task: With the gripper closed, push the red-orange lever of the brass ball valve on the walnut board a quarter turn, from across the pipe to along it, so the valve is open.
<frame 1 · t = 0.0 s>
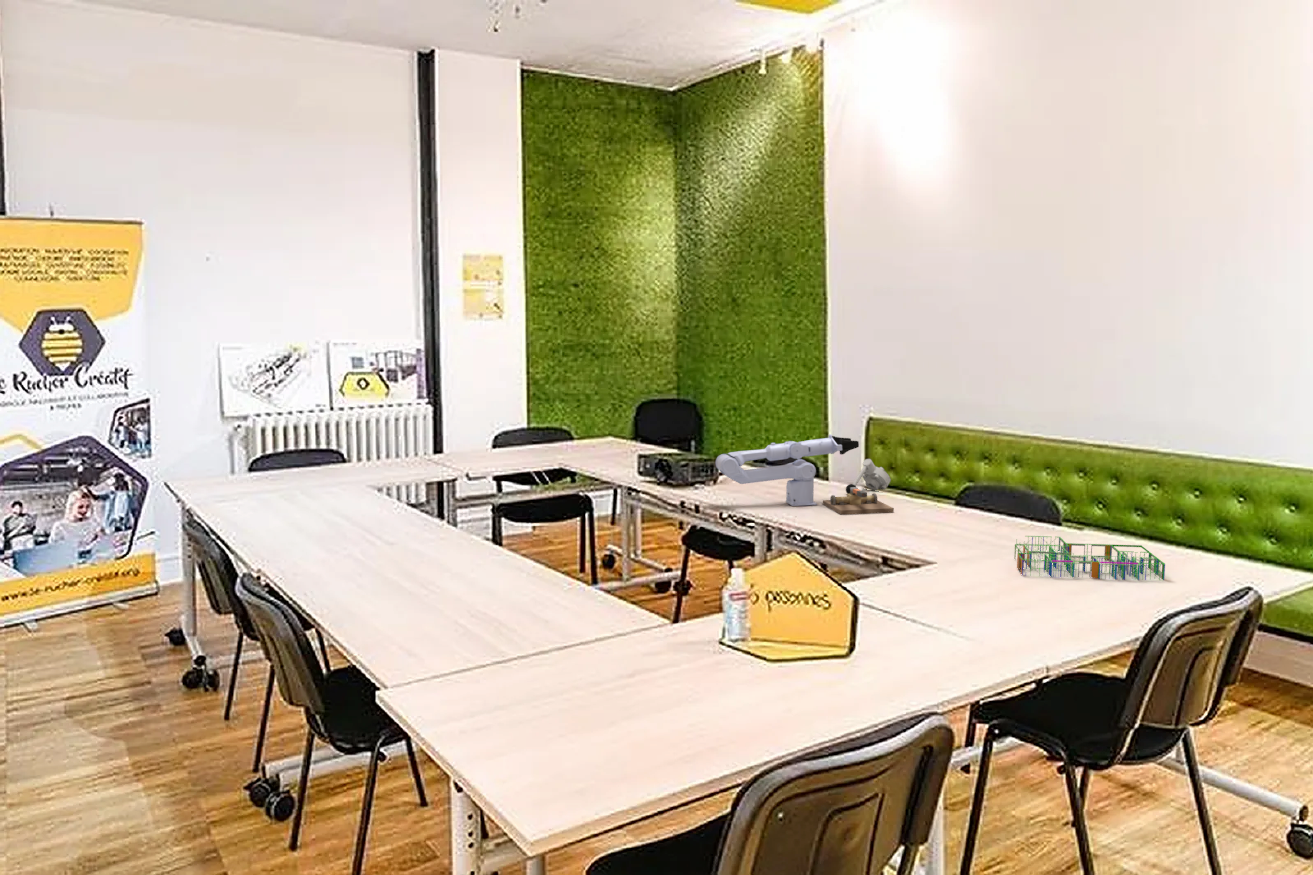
hand: (854, 442, 367), 22 cm above the table, fingers open, 7 cm apart
house model: (1079, 566, 277), on the table
valve board: (857, 508, 357), on the table
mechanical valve: (866, 492, 389), on the table
valve lever: (858, 492, 353), point 6 cm above the table, hinge at -90.0°
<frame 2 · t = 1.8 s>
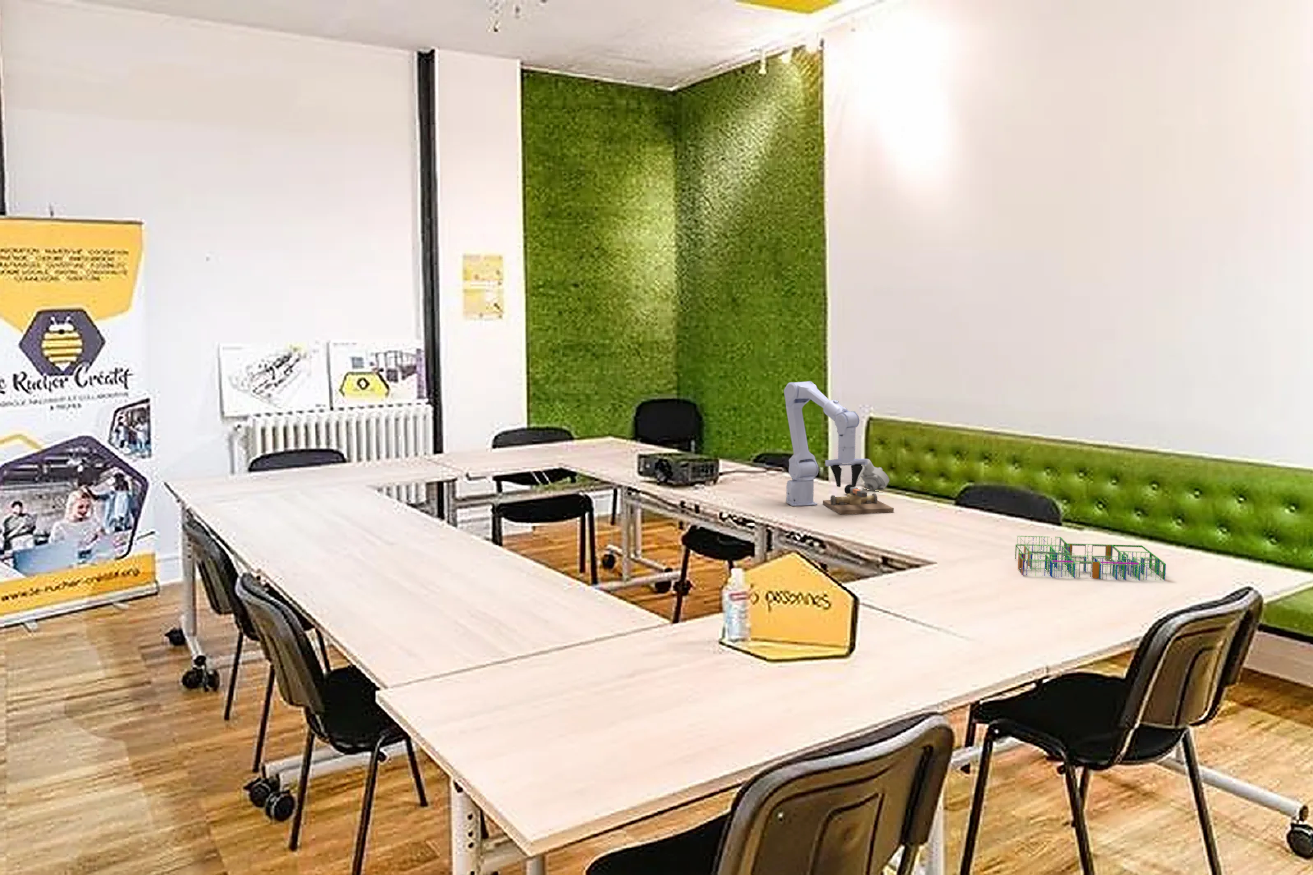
hand: (846, 486, 348), 9 cm above the table, fingers open, 5 cm apart
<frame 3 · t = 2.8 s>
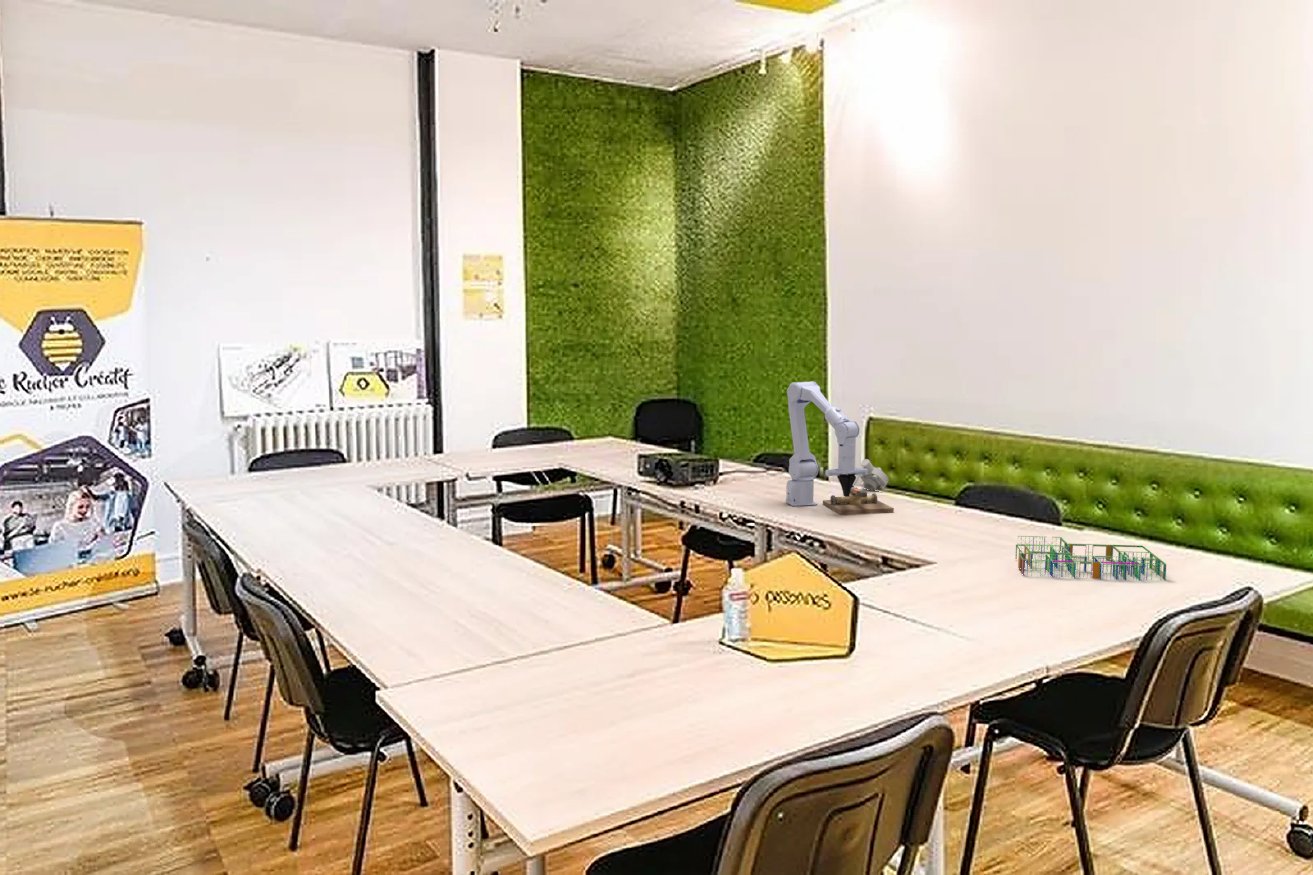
hand: (846, 496, 348), 6 cm above the table, fingers closed
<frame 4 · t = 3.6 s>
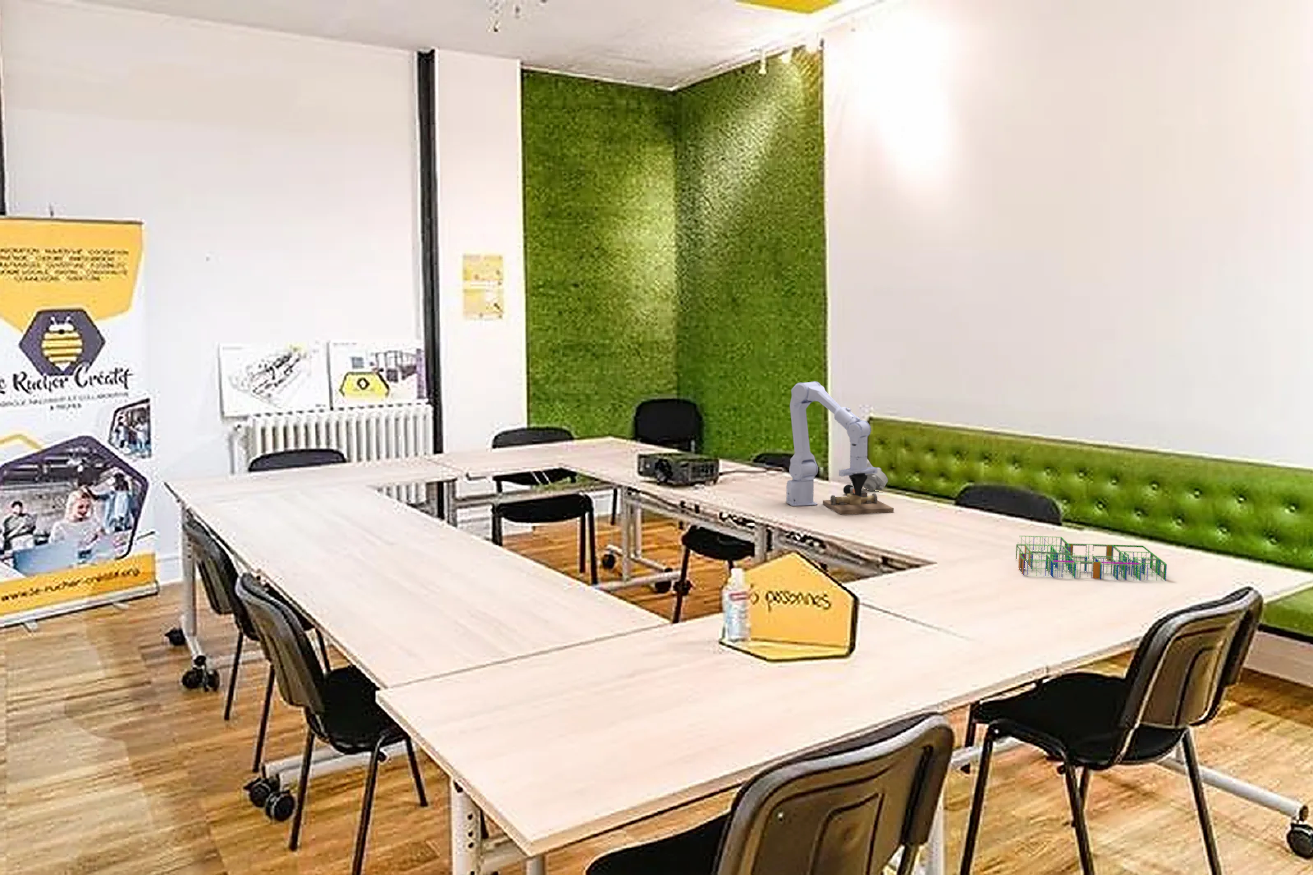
hand: (857, 495, 349), 6 cm above the table, fingers closed, pressing on valve lever
valve lever: (858, 492, 353), point 6 cm above the table, hinge at -89.3°, touching gripper
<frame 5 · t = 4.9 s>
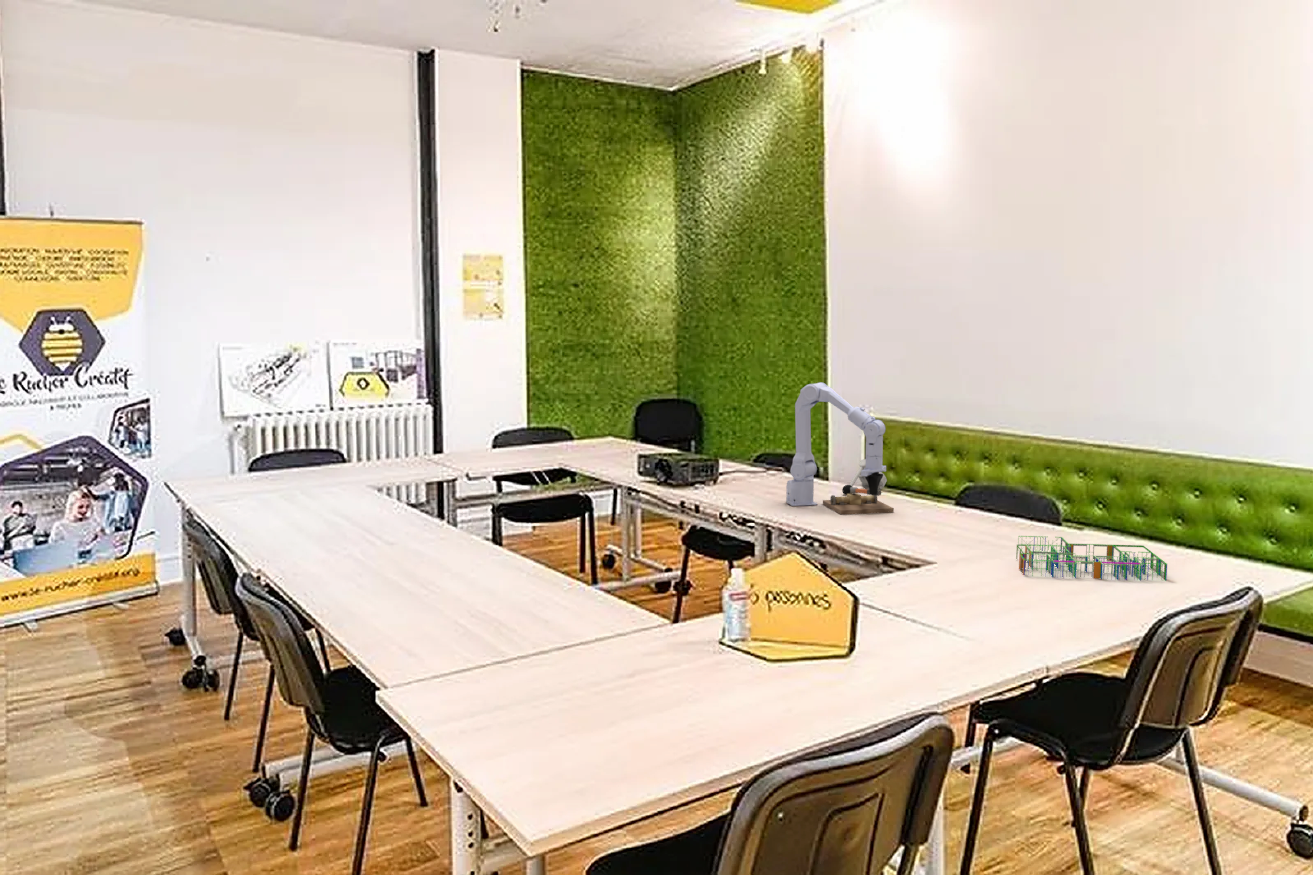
hand: (873, 494, 351), 6 cm above the table, fingers closed, pressing on valve lever
valve lever: (865, 491, 355), point 6 cm above the table, hinge at -49.4°, touching gripper
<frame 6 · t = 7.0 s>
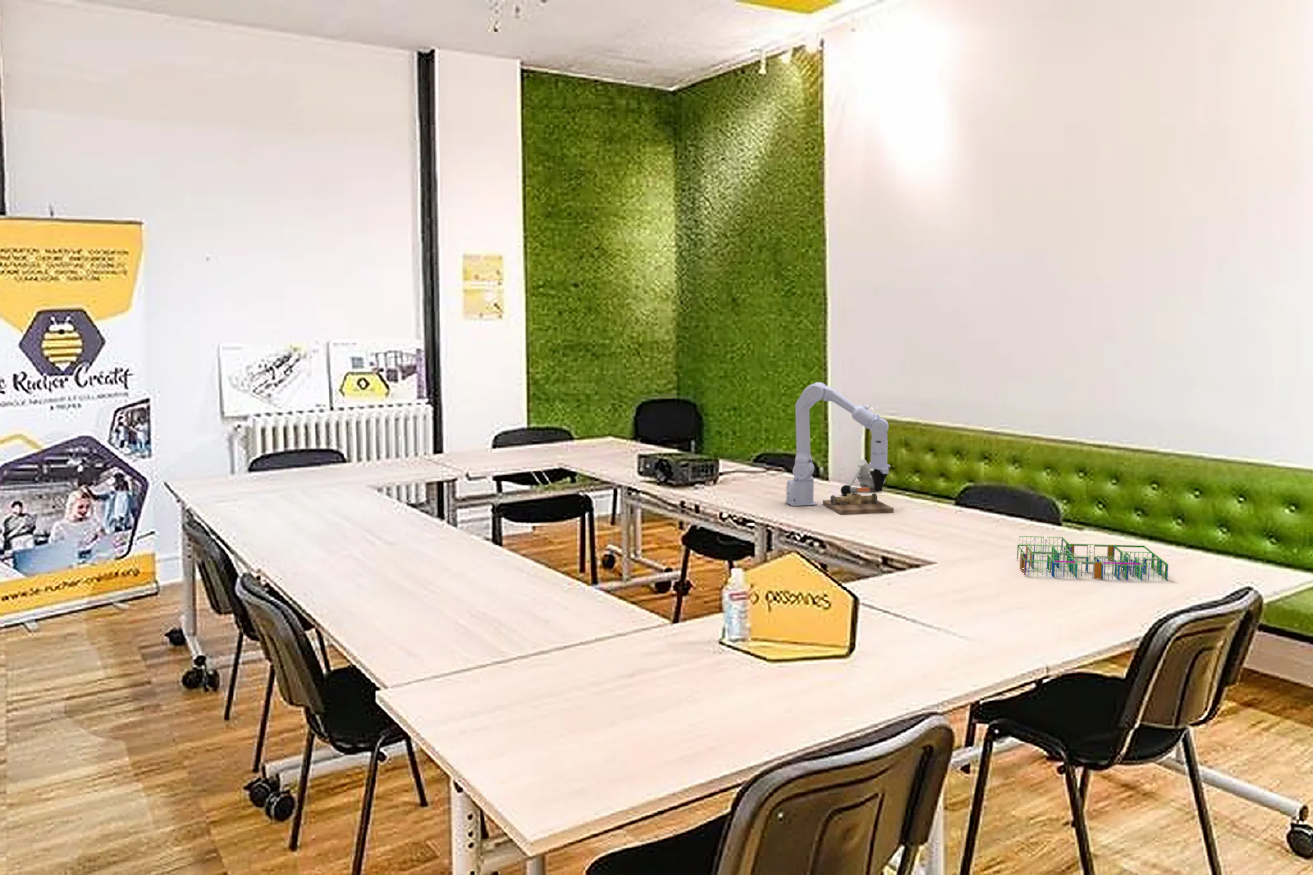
hand: (878, 491, 357), 6 cm above the table, fingers closed
valve lever: (865, 489, 358), point 6 cm above the table, hinge at 0.2°, touching gripper
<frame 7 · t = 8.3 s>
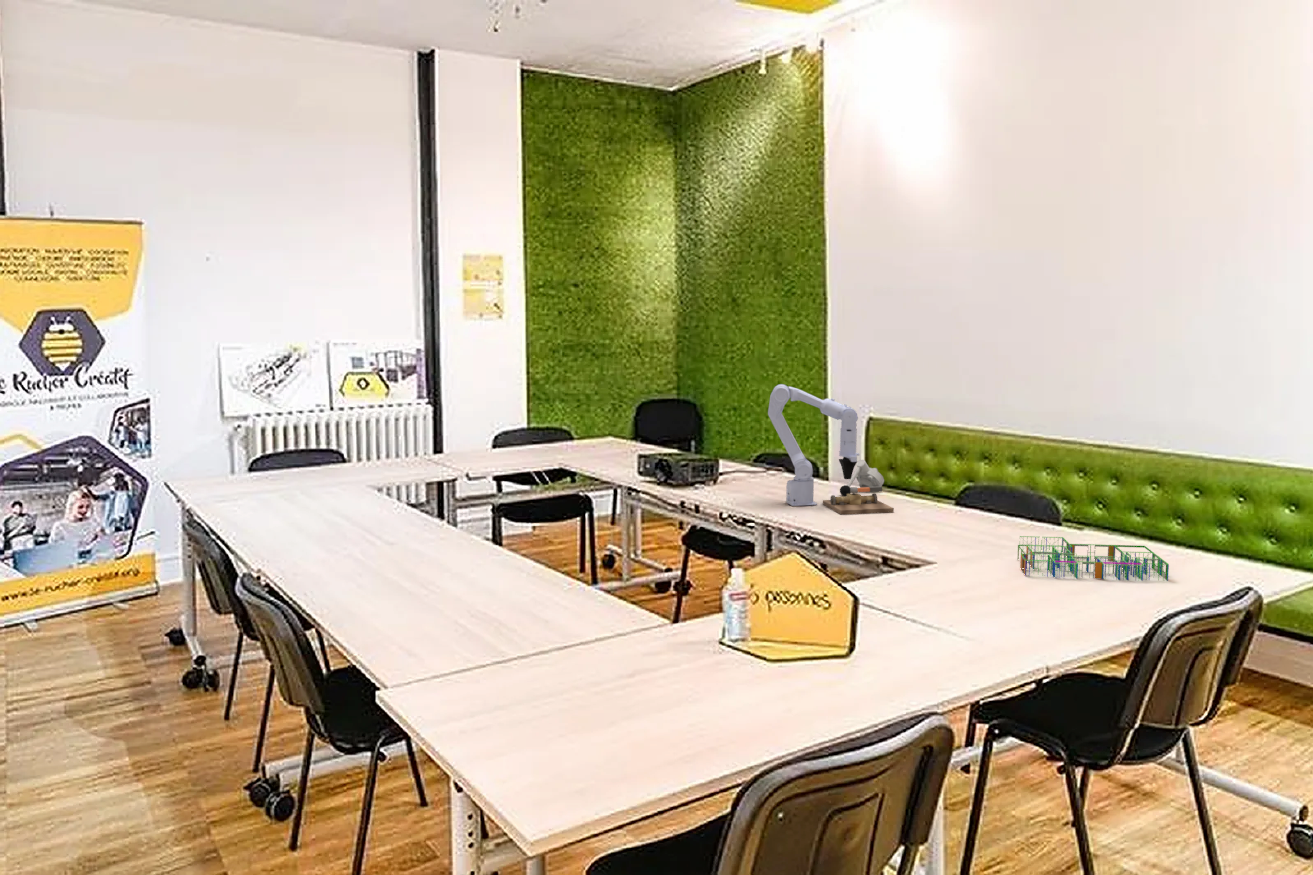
hand: (847, 478, 363), 9 cm above the table, fingers closed
valve lever: (865, 489, 358), point 6 cm above the table, hinge at 0.2°
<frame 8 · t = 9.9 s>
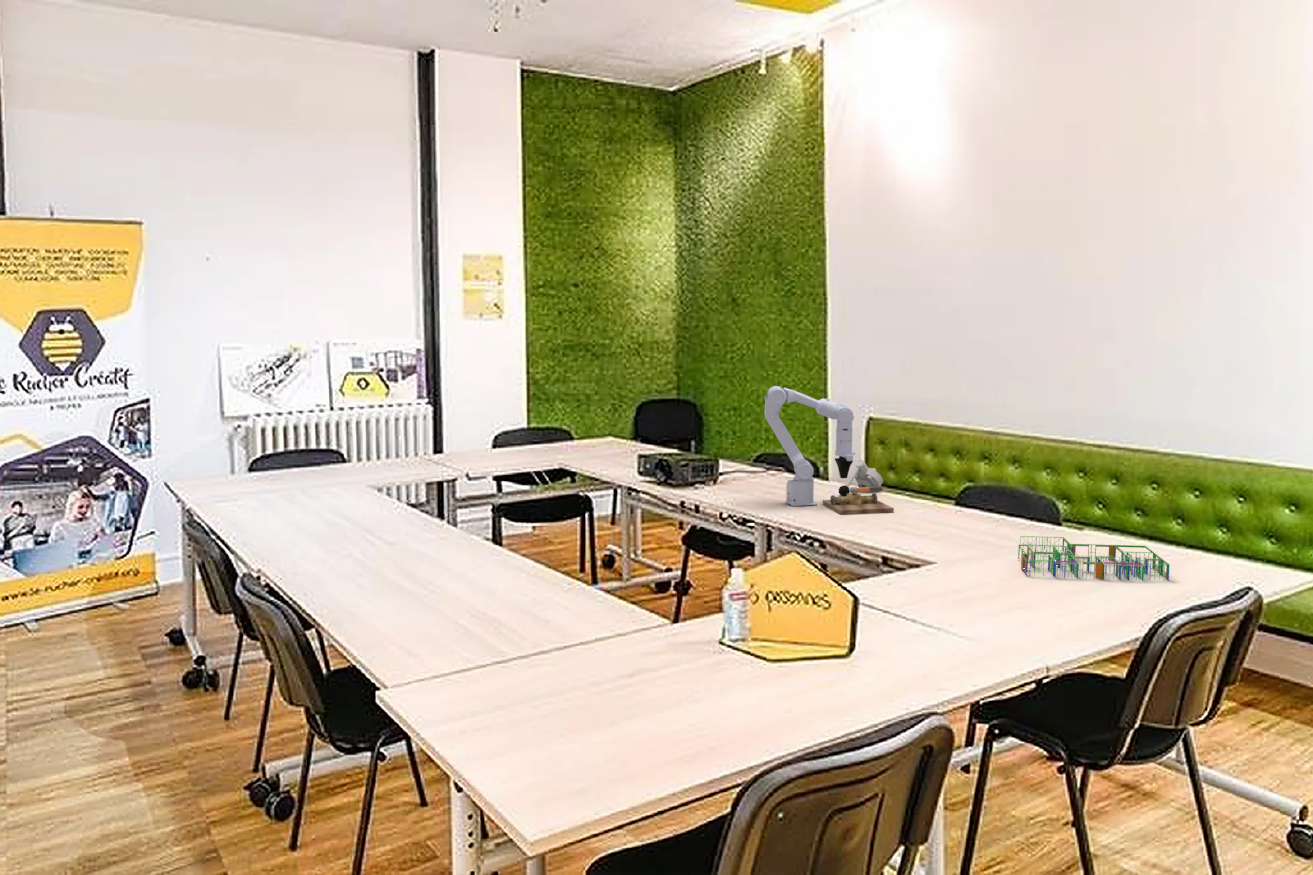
hand: (843, 478, 365), 9 cm above the table, fingers closed
at the end: valve lever at +0° (first picture: -90°); the gripper is holding nothing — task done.
